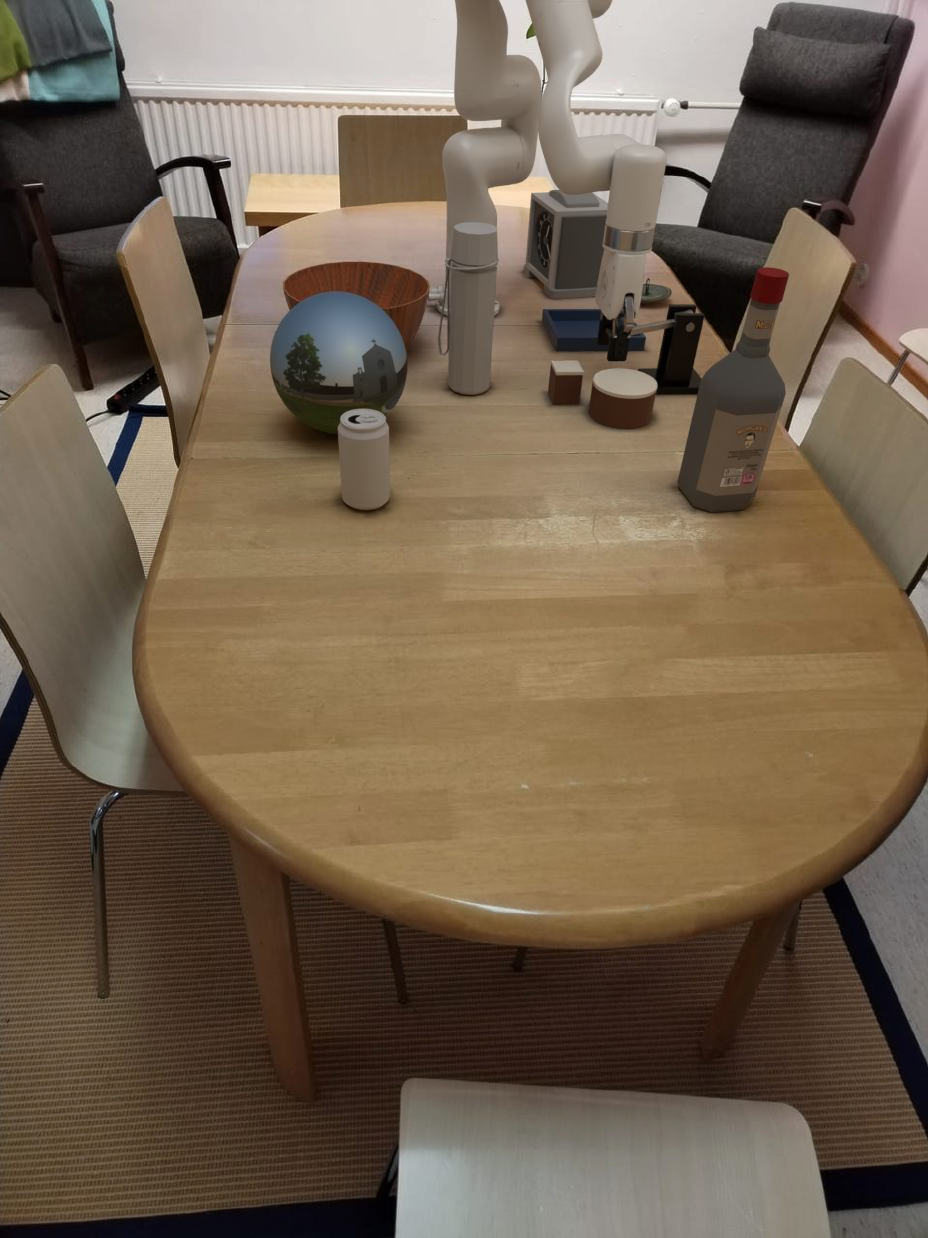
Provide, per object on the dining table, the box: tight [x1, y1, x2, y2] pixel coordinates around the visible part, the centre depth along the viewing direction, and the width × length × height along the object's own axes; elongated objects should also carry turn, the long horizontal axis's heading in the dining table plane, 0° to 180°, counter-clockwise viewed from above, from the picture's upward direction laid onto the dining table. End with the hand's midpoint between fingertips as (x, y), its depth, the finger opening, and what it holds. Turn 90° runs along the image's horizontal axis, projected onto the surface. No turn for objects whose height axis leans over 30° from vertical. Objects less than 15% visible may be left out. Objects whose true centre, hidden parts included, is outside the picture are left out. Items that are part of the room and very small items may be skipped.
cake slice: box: [547, 360, 584, 406], centre depth 137 cm, size 4×4×6 cm
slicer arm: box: [604, 310, 693, 339], centre depth 138 cm, size 14×6×2 cm, turn 96°
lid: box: [640, 277, 673, 304], centre depth 176 cm, size 11×10×5 cm
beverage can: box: [337, 409, 391, 511], centre depth 109 cm, size 6×6×12 cm
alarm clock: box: [523, 189, 608, 300], centre depth 178 cm, size 18×13×18 cm
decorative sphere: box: [269, 291, 408, 435], centre depth 122 cm, size 20×20×20 cm
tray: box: [541, 308, 647, 352], centre depth 160 cm, size 17×15×2 cm
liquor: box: [677, 266, 790, 513], centre depth 108 cm, size 9×9×30 cm
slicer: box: [637, 303, 706, 396], centre depth 141 cm, size 10×8×13 cm
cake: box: [588, 367, 657, 430], centre depth 134 cm, size 10×10×6 cm
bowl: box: [282, 261, 431, 352], centre depth 148 cm, size 25×25×11 cm
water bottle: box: [437, 222, 500, 396], centre depth 133 cm, size 9×8×25 cm
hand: (611, 351), depth 140 cm, fingers open, 6 cm apart
